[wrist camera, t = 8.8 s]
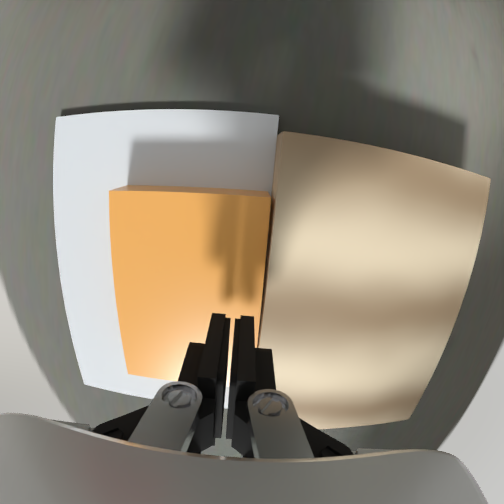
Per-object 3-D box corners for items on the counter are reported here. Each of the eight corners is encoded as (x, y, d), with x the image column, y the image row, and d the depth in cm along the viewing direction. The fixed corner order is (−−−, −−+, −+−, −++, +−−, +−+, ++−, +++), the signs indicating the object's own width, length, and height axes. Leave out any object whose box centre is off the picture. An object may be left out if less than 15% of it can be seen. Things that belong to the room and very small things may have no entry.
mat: (246, 405, 19) (246, 409, 19) (86, 380, 19) (84, 384, 18) (278, 116, 14) (279, 115, 13) (59, 117, 13) (56, 117, 13)
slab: (252, 363, 17) (252, 387, 15) (138, 351, 17) (128, 373, 15) (267, 191, 14) (271, 197, 12) (127, 185, 14) (108, 190, 12)
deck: (394, 392, 19) (408, 419, 16) (248, 396, 19) (248, 429, 16) (458, 172, 14) (490, 178, 11) (276, 136, 14) (283, 131, 11)
